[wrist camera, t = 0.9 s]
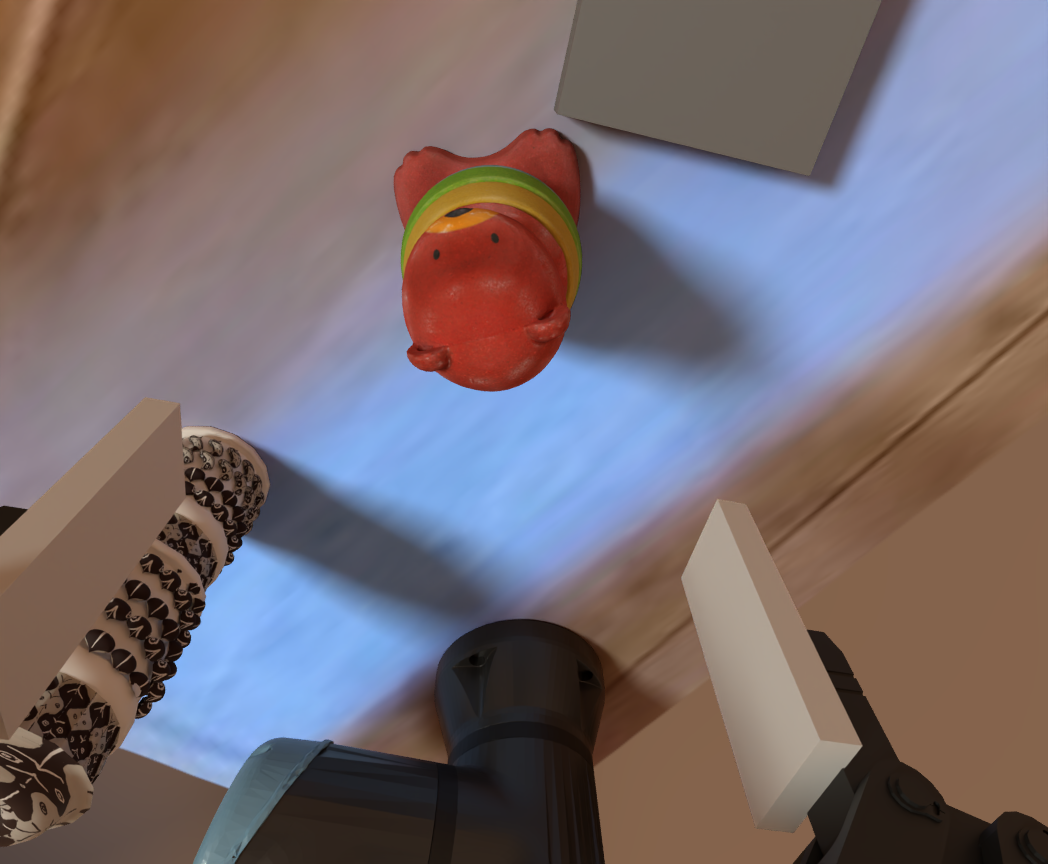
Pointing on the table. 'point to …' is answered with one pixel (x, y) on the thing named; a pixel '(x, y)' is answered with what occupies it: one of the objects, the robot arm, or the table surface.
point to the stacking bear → (489, 258)
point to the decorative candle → (130, 642)
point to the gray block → (716, 72)
